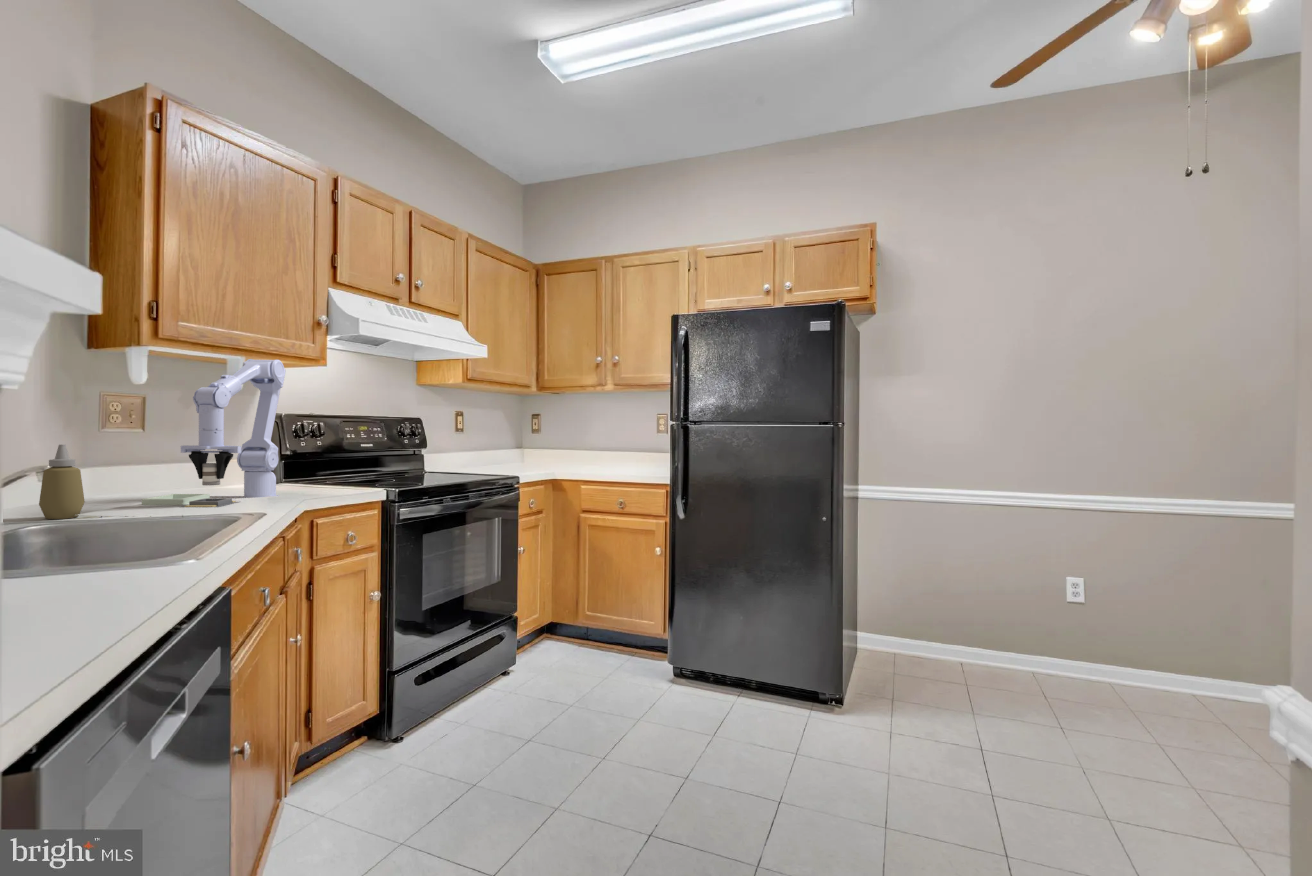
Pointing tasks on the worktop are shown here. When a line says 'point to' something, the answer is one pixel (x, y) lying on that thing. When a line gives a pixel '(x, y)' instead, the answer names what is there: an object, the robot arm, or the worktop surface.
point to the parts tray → (174, 499)
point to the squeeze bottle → (61, 488)
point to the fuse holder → (211, 502)
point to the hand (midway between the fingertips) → (211, 478)
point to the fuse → (209, 474)
